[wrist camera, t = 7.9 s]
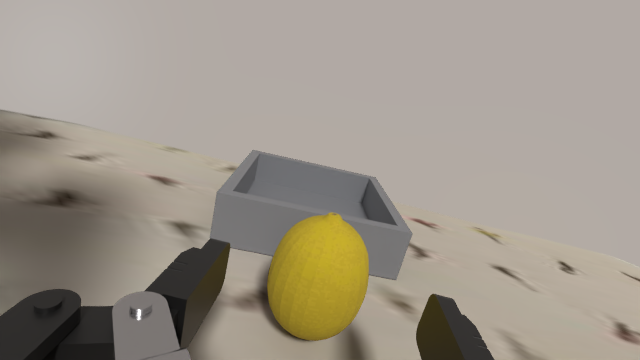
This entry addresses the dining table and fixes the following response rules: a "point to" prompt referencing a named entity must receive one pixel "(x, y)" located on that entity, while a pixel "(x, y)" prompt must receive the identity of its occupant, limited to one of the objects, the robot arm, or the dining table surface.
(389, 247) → the bin
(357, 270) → the lemon
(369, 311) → the dining table surface
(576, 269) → the dining table surface
